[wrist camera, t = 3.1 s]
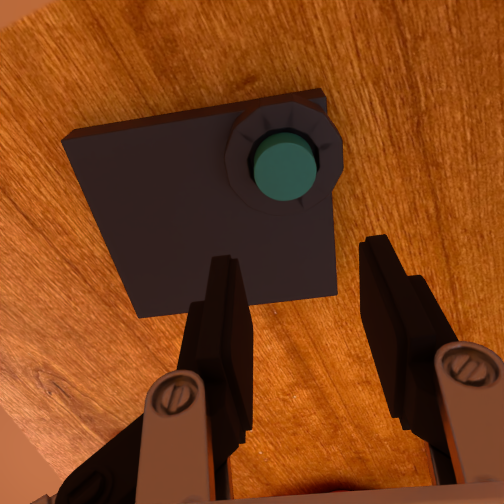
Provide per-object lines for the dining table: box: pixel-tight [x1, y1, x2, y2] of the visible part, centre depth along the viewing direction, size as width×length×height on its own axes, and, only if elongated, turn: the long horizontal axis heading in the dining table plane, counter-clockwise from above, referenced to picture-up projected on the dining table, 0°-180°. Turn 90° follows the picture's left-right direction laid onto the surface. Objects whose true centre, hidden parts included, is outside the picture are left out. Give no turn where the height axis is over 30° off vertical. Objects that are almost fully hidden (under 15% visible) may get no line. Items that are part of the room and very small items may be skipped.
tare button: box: [254, 132, 317, 201], centre depth 20 cm, size 3×3×2 cm
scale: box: [61, 88, 344, 318], centre depth 24 cm, size 14×14×4 cm
